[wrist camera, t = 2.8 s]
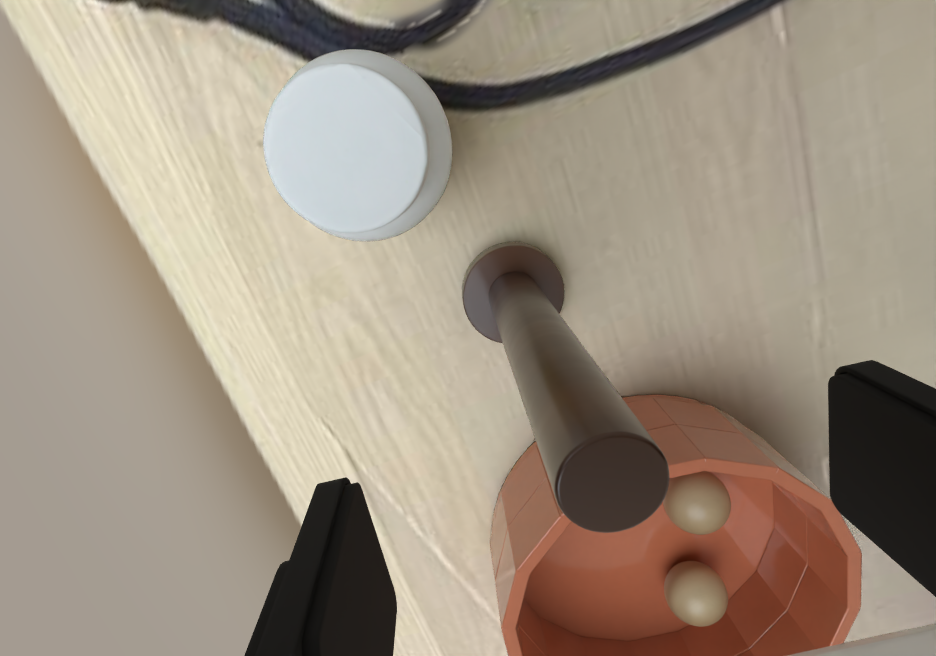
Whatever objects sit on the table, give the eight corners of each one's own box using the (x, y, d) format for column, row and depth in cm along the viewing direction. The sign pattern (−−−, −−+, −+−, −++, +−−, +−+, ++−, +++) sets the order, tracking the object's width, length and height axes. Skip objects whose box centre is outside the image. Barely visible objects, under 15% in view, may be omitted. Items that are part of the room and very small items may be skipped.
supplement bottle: (344, 53, 21) (274, -21, 12) (470, 114, 22) (493, 89, 13) (298, 184, 23) (204, 207, 13) (418, 237, 24) (406, 291, 14)
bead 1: (649, 463, 27) (675, 500, 24) (709, 450, 27) (742, 486, 24) (656, 513, 28) (681, 555, 25) (714, 501, 28) (745, 541, 25)
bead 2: (651, 554, 29) (675, 599, 26) (708, 542, 29) (738, 585, 26) (657, 598, 30) (681, 646, 27) (712, 587, 30) (741, 634, 27)
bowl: (463, 431, 27) (470, 508, 21) (772, 364, 26) (864, 422, 21) (520, 662, 31) (539, 776, 26) (782, 606, 31) (860, 709, 25)
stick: (452, 254, 24) (474, 407, 10) (550, 231, 24) (721, 352, 10) (473, 346, 25) (519, 600, 11) (567, 325, 25) (736, 554, 11)
